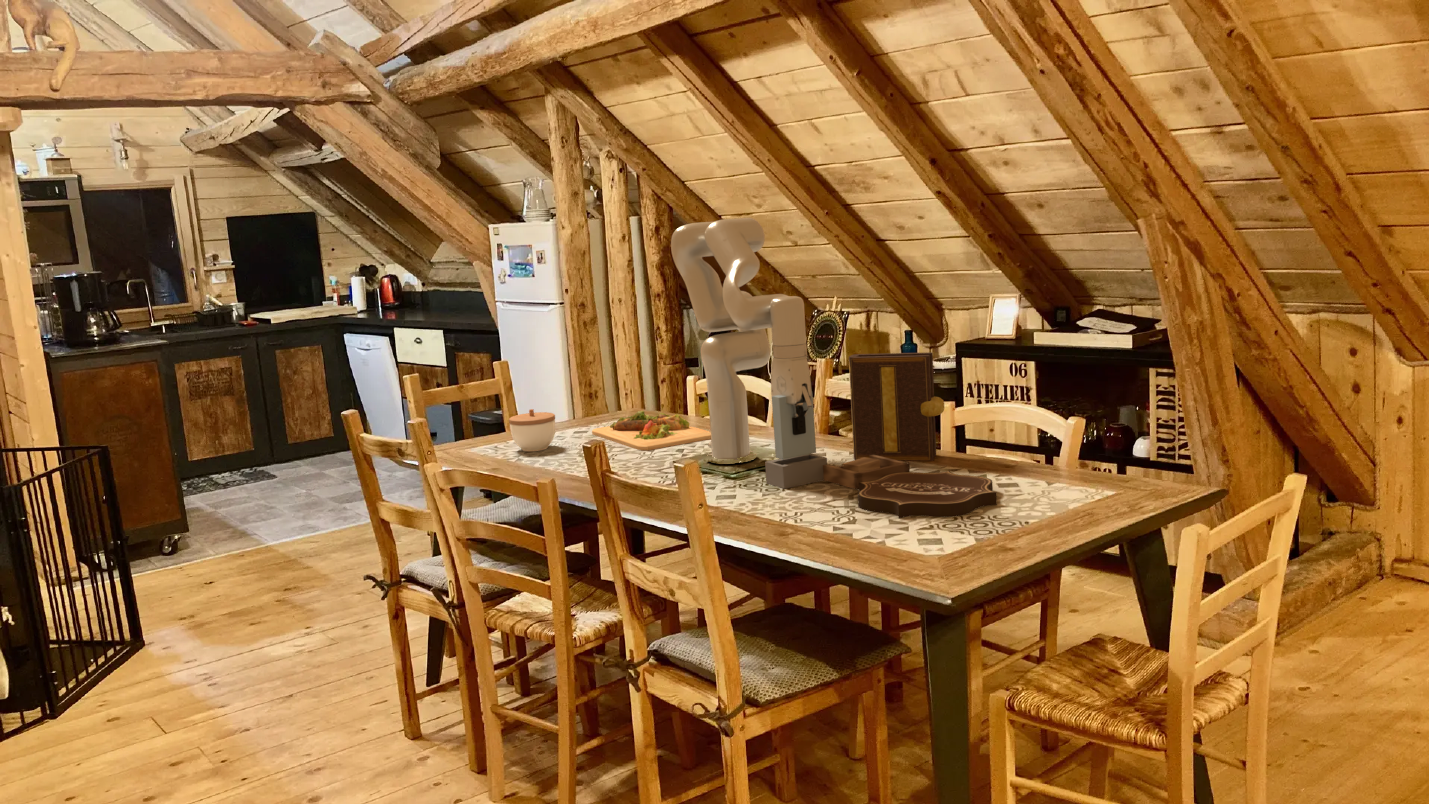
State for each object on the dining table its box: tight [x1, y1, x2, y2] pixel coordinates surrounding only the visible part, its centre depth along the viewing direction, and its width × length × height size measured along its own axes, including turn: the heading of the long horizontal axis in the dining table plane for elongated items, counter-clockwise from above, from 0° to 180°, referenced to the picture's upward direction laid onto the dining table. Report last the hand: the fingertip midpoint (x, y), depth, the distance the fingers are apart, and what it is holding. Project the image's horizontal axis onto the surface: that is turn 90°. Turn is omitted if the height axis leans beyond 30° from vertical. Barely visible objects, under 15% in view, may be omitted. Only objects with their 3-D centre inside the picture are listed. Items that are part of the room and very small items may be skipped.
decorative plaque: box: [857, 470, 998, 519], centre depth 240 cm, size 30×3×30 cm
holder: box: [764, 453, 828, 489], centre depth 263 cm, size 7×12×5 cm, turn 120°
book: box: [848, 352, 945, 462], centre depth 278 cm, size 22×8×25 cm, turn 71°
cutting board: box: [591, 410, 711, 451], centre depth 328 cm, size 35×23×8 cm
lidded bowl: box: [508, 409, 556, 452], centre depth 320 cm, size 13×13×11 cm
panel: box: [771, 393, 817, 459], centre depth 261 cm, size 3×9×14 cm, turn 120°
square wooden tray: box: [823, 455, 911, 491], centre depth 261 cm, size 13×14×4 cm
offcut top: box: [842, 457, 880, 473], centre depth 262 cm, size 5×7×2 cm, turn 131°
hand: (794, 432), depth 262 cm, fingers closed on panel, 3 cm apart
